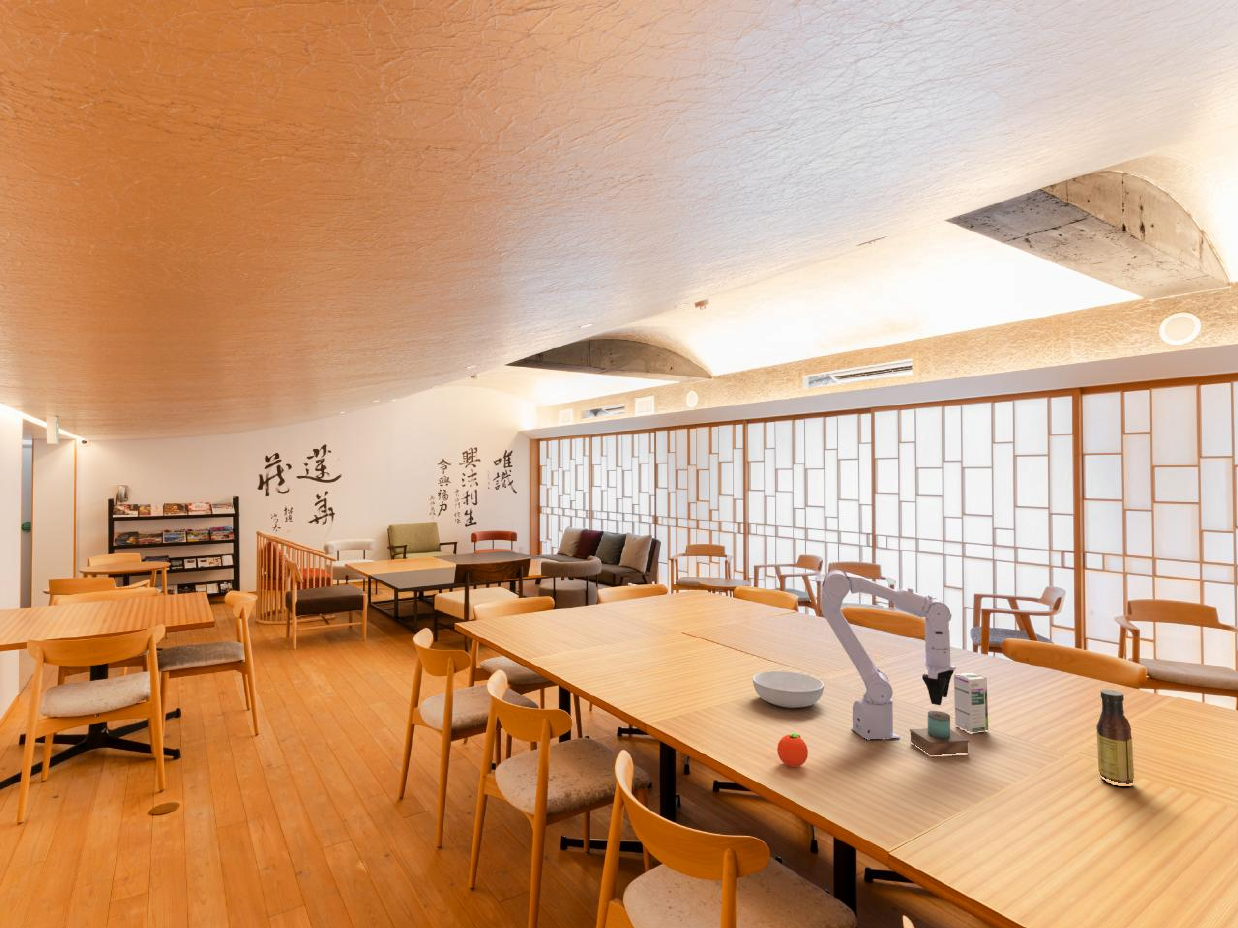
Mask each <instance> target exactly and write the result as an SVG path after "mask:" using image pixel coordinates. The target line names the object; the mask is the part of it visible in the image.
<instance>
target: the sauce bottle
mask: <svg viewBox="0 0 1238 928" xmlns="http://www.w3.org/2000/svg"><path fill="white" fill-rule="evenodd" d="M1100 699H1101V712H1100V715H1099V719H1098V722H1097V723H1096V744H1097V745H1096V746H1097V766H1098V767H1097V768H1098V772H1099V773H1100V775H1101V776H1102V777H1104V778H1105V779H1109V780H1111V781H1114V782H1118V783H1126V784H1129V783H1133V781H1134V778H1135V773H1134V772H1135V769H1134V768H1135V767H1134V754H1133V750H1134V749H1133V738H1132V728H1131V725H1130V723H1129V720H1128V719H1127V717H1125V715H1124V713H1125V711H1124V705H1123V704H1124V703H1123V702H1124V699H1125V698H1124V693H1122V692H1121V691H1118V690H1112V689H1102V690H1100ZM1100 775H1099V776H1100Z"/></svg>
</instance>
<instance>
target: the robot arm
mask: <svg viewBox="0 0 1238 928" xmlns="http://www.w3.org/2000/svg"><path fill="white" fill-rule="evenodd" d="M822 581H823V582H822V583H821V601H820V611H821V613H822V615H823V617H824V619H825V620H826V621H827V623H828V625H829V627H830V629H831V630H832V631H833V633H834V634H835V637H836V638H837V640H838V642H839V643H840V644H841V646H842V647H843V650H844V651H845V652H846V654H847V655H848V658H850V661H851V662H852V664H853V665H854V667H855V669H856V670H857V673H858V674H859V676H860V678H861V680H862V682H863V683H864V686H865V692H864V694H863V695H862V698H861V699H859V700H856V701H854V702H853V704H852V726H851V730H852V731H853V732H855V733H857V735H859V736H860V737H862V738H863V737H864V738H865V739H864V738H863V739H864V740H866V739H867V740H866V741H871V740H870V739H882V740H888V739H887V738H900V739H901V737H900V736H901V735H898V734H896V733H895V732H894V727H893V726H894V723H893V719H894V718H893V717H894V714H893V713H894V711H893V705H894V704H893V698H892V697H893V689H892V686H891V684H890V682H889V678H888V676H887V675H886V674H885V673H884V672H883V671H882V670H880V669H879V668H878V667H877V665H876V663H875V662H874V661H873V660H872V658H871V657H870V655H869V654H868V652H867V650H866V649H865V647H864V646H863V644H862V642H861V641H860V640H859V638H858V636H857V634H856V632H855V631H854V630H853V628H852V627H851V625H850V623H849V621H848V620H847V618H846V617H845V616H844V614H843V612H842V610H841V607H842V605H843V602H844V601H843V600H844V599H846V597H847V595H848V594H849V592H850V593H851V594H852V595H853V594H858V593H861V592H862V593H864V594H865V593H866V594H869V595H872V596H875V597H877V598H880V599H883V600H887V601H889V602H892V604H893V606H894V608H896V609H897V610H900V611H902V612H905V613H908V614H910V615H913V616H916V617H918V618H924V622H925V623H924V624H925V626H924V641H925V642H924V643H925V644H924V647H925V649H924V650H925V651H924V652H925V663H924V665H925V668H926V670H927V674H925V673H923V674H922V677H921V678H922V681H923V682H924V684H925V686H926V688H927V691H928V696H929V699H930V703H931V705H935V706H941V705H942V701H943V698H947V696H948V692H949V688H950V682H951V678H952V676H953V675H954V672H955V670H956V669H957V667H956V665H954V664H953V665H952V664H951V642H950V641H951V640H950V638H951V636H950V635H951V634H950V629H949V628H950V623H949V622H950V621H951V619H952V613H951V610H950V608H949V607H948V605H947V604H945V603H944V602H943V601H941V600H940V599H938V598H937V597H933V596H931V595H928V594H927V595H924V594H921V593H918V592H915V591H914V588H911V587H907V588H905V587H902V588H898V589H894V588H891V587H888V586H885V585H883V584H882V583H878V582H876V581H873V580H871V579H868V578H866V577H863V576H861V575H857V574H854V573H851V572H847V571H846V572H843V571H842V570H840V569H832V570H830V571H828V572H827V573H826V575H825V576H824V579H823V580H822ZM884 738H885V739H884Z"/></svg>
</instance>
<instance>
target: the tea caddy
mask: <svg viewBox="0 0 1238 928" xmlns="http://www.w3.org/2000/svg"><path fill="white" fill-rule="evenodd" d="M927 728H928V734H929V735H930V736H933V737H936V738H941V739H947V738H950V729H951V715H950V714H949V713H947V712H943V711H939V710H930V711H927Z"/></svg>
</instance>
